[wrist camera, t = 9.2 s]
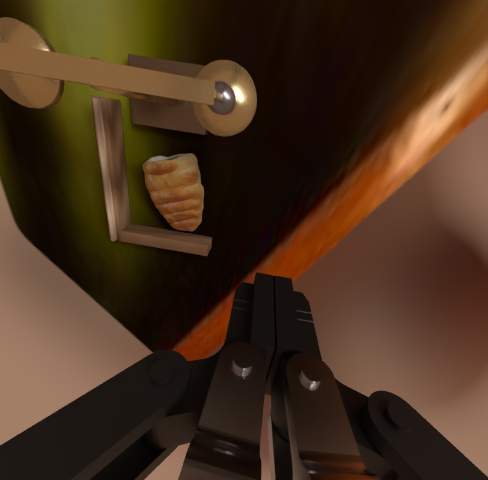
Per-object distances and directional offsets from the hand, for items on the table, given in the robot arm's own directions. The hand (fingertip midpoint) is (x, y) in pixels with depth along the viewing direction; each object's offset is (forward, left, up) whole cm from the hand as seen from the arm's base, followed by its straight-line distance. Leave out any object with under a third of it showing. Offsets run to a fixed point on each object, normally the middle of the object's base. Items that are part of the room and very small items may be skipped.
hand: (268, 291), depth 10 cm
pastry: (+2, -11, -20) cm, 23 cm away
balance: (-8, -12, -20) cm, 24 cm away
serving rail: (+1, -13, -19) cm, 23 cm away
